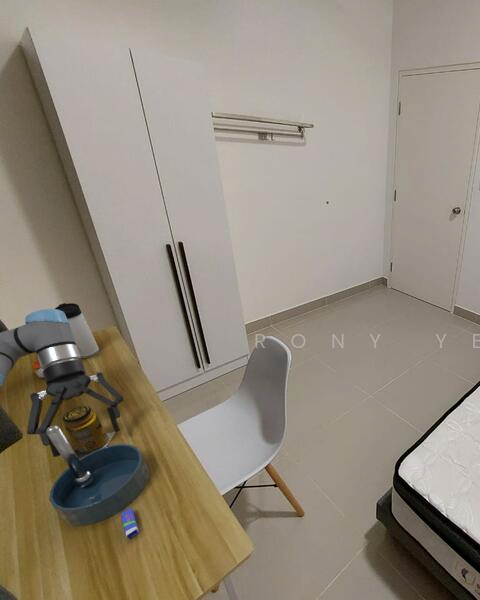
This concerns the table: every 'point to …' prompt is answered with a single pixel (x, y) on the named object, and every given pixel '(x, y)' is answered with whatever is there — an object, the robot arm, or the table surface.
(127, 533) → the eraser
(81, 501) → the bowl
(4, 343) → the robot arm
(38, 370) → the rainbow petal flower
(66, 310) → the travel mug
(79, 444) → the condiment
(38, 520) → the table surface
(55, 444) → the silver-tipped handle
